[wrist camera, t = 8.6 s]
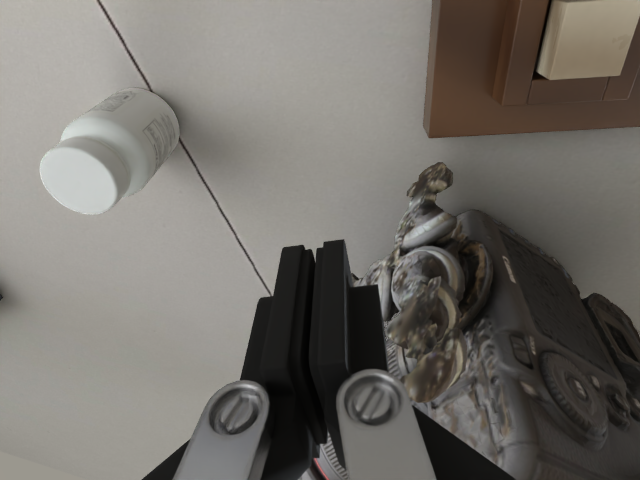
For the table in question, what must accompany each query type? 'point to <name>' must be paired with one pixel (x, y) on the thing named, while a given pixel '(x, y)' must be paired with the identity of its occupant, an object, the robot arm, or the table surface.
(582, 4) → the key
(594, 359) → the camera
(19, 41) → the table surface
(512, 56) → the brown light switch
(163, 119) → the pill bottle
